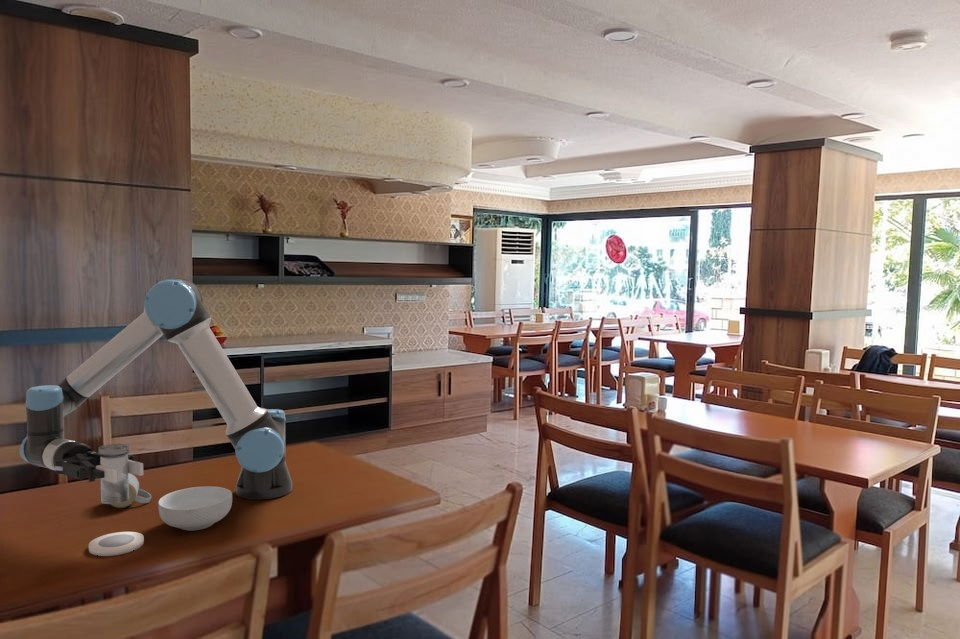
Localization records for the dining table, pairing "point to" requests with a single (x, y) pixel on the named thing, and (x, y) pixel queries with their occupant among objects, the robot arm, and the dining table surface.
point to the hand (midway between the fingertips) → (128, 472)
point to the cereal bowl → (195, 507)
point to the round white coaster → (116, 543)
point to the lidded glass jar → (117, 460)
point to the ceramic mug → (134, 493)
